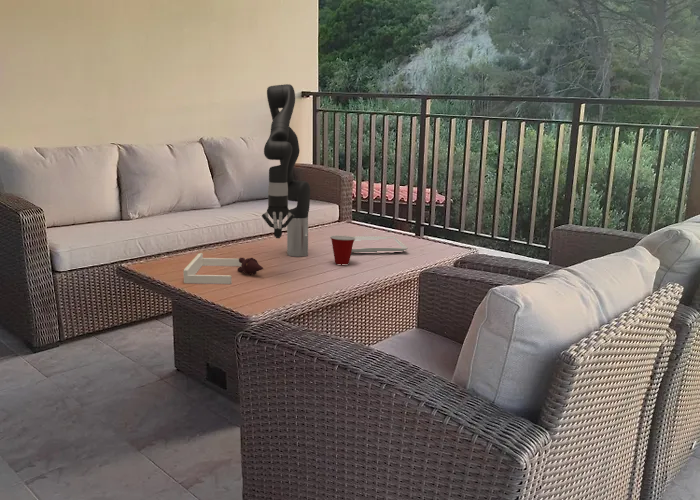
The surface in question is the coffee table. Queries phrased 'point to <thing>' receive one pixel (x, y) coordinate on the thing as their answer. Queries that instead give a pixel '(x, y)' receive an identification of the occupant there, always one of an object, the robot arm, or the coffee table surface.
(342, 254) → the plastic cup
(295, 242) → the robot arm
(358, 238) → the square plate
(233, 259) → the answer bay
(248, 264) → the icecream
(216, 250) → the coffee table surface
